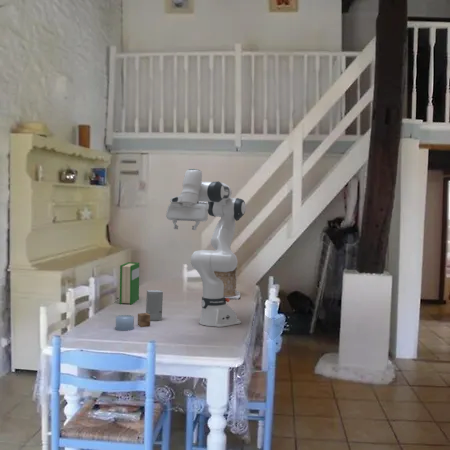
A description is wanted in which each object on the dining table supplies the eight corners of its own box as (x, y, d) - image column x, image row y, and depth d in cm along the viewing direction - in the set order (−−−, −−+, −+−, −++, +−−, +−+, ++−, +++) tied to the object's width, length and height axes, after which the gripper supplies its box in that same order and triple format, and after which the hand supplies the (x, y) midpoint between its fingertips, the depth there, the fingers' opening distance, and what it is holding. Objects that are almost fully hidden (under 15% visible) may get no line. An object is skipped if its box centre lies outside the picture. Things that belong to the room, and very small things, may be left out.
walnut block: (146, 324, 285) (146, 312, 285) (150, 326, 281) (150, 314, 280) (137, 325, 283) (137, 313, 282) (140, 327, 278) (141, 315, 278)
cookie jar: (240, 299, 359) (241, 251, 357) (203, 298, 359) (204, 250, 358) (240, 293, 384) (241, 248, 382) (205, 292, 384) (206, 247, 382)
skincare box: (147, 321, 291) (147, 291, 291) (145, 318, 298) (145, 289, 298) (162, 320, 294) (163, 291, 293) (160, 317, 301) (161, 289, 300)
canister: (130, 325, 281) (130, 314, 281) (136, 329, 273) (136, 318, 272) (112, 327, 276) (112, 315, 276) (118, 331, 268) (118, 319, 268)
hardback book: (131, 304, 334) (131, 265, 333) (119, 304, 335) (120, 265, 334) (138, 299, 352) (139, 262, 351) (127, 298, 353) (128, 262, 351)
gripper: (212, 204, 255) (207, 232, 252) (172, 202, 262) (168, 230, 259) (207, 199, 249) (202, 228, 246) (167, 198, 257) (162, 226, 253)
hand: (184, 229), depth 252 cm, fingers open, 8 cm apart
